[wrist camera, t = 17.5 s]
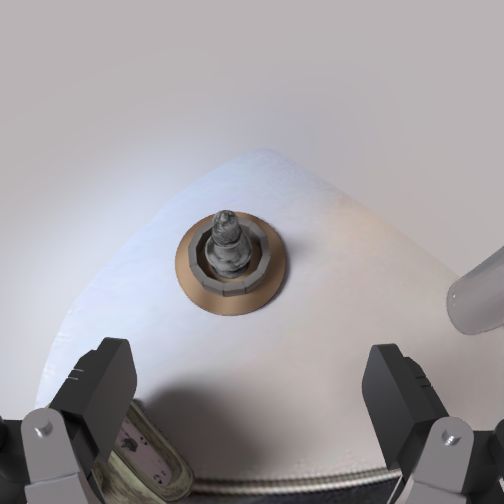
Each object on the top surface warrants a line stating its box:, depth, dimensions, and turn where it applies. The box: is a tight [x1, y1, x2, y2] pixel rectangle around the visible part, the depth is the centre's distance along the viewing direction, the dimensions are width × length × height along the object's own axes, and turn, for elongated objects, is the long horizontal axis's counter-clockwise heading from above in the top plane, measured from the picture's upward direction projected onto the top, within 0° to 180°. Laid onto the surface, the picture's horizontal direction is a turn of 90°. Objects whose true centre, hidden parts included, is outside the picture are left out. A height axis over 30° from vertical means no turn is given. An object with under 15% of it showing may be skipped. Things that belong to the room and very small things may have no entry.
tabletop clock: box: [45, 400, 195, 504], centre depth 23 cm, size 14×9×25 cm, turn 43°
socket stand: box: [175, 212, 286, 316], centre depth 43 cm, size 15×15×4 cm
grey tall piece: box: [205, 210, 252, 279], centre depth 38 cm, size 6×6×12 cm
